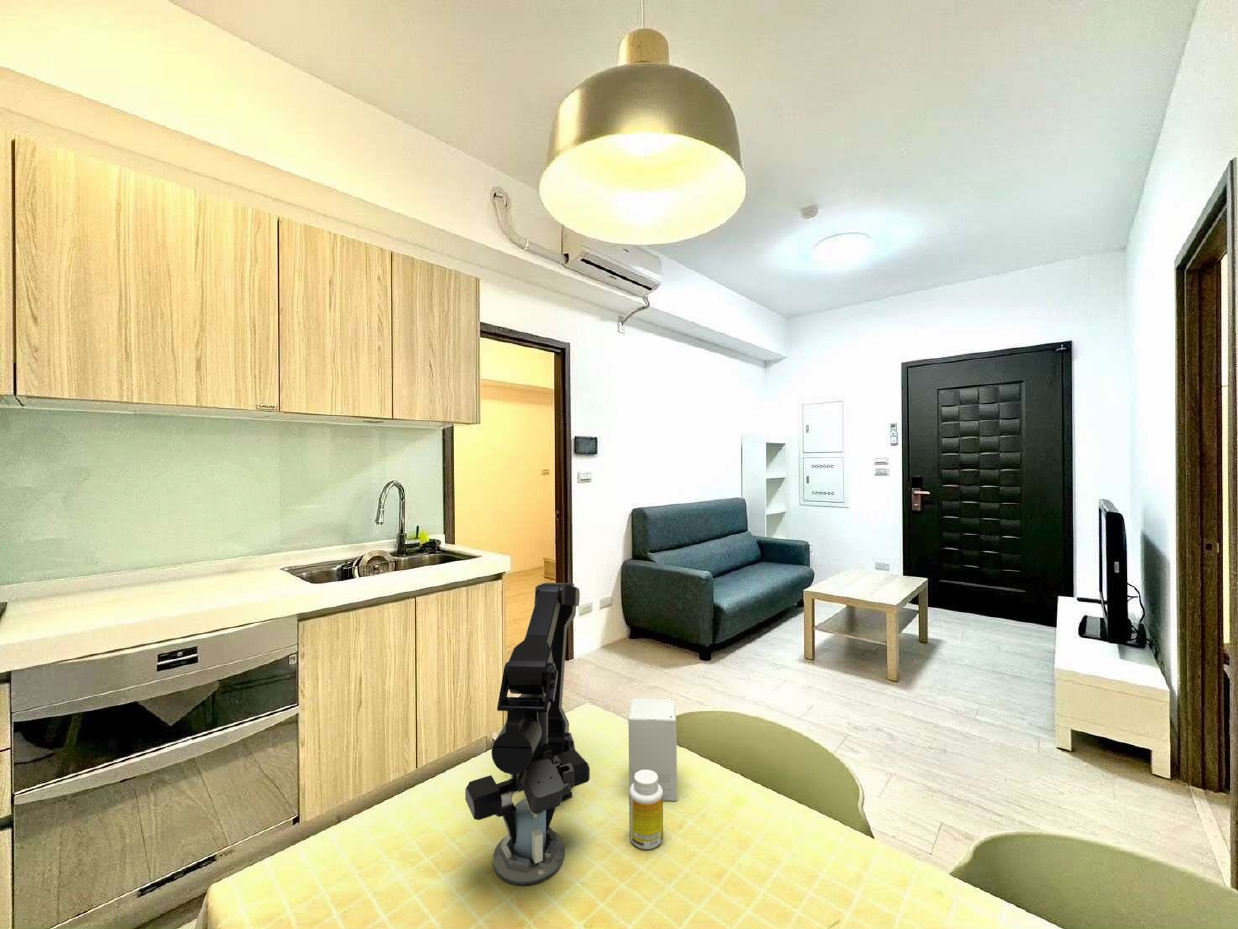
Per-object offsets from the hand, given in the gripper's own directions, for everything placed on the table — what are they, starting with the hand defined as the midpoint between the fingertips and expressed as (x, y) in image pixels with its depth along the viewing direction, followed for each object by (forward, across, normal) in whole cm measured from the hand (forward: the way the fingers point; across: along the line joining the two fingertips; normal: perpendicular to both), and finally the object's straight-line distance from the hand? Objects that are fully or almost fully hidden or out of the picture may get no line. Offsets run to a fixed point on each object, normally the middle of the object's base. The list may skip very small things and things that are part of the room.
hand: (529, 836), depth 80 cm
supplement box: (+4, +27, +5) cm, 28 cm away
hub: (+3, 0, 0) cm, 3 cm away
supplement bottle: (+4, +18, -6) cm, 19 cm away
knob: (+2, 0, 0) cm, 2 cm away
